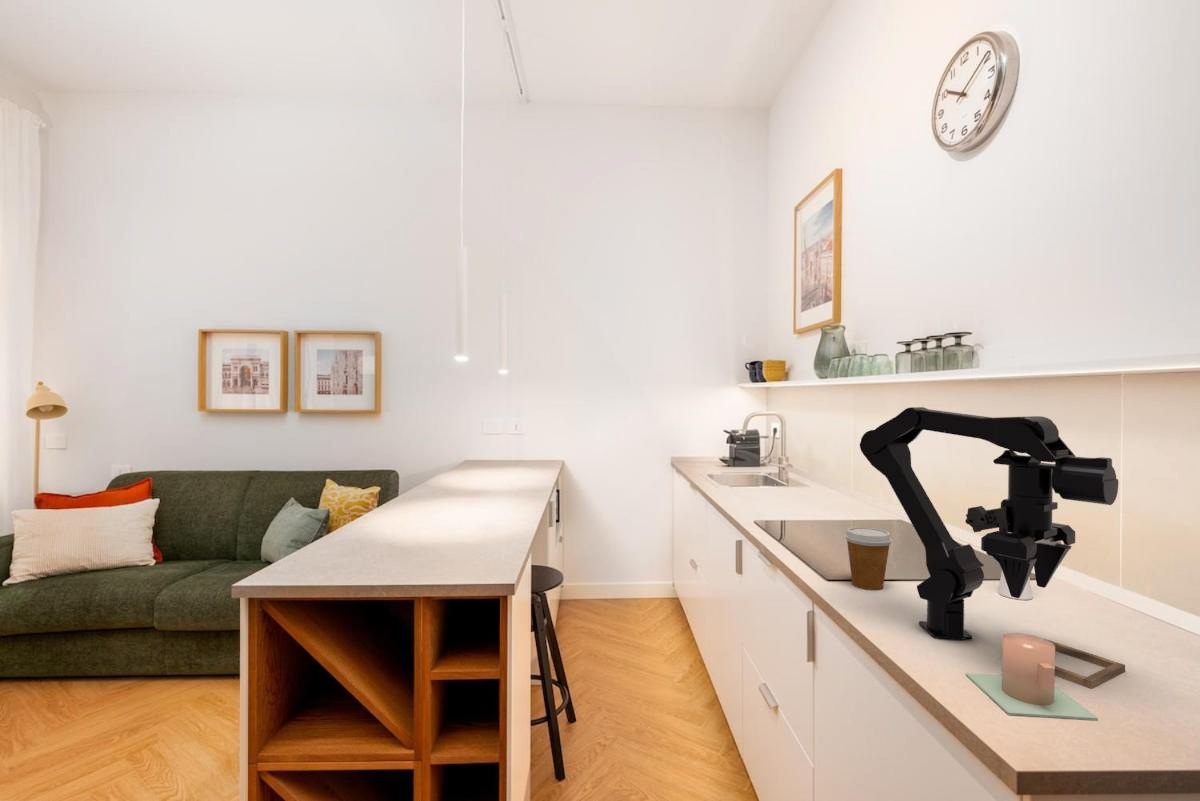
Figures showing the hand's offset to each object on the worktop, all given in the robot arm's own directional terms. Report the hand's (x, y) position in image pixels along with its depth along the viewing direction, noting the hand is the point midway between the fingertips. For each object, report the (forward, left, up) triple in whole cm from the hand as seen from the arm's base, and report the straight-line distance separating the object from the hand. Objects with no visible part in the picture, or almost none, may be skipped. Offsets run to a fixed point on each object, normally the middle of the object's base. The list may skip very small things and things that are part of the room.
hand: (1028, 591), depth 94 cm
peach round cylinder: (+12, -7, -11) cm, 17 cm away
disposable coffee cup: (-35, -13, -11) cm, 39 cm away
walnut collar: (+1, +5, -11) cm, 12 cm away
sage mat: (+12, -7, -11) cm, 18 cm away
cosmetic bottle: (-32, +16, -11) cm, 38 cm away
